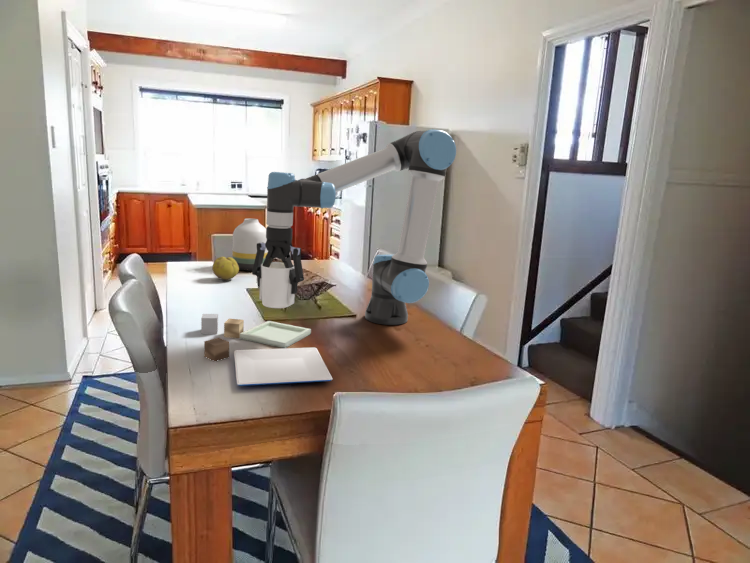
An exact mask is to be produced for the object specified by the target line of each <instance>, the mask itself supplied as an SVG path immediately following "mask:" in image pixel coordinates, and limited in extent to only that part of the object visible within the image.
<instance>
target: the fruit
mask: <svg viewBox="0 0 750 563" xmlns="http://www.w3.org/2000/svg"><path fill="white" fill-rule="evenodd" d="M239 270H240V269H239V266H238V264H237V262H236V261H235V260H234V259H233V258H232V256H230V257H229V256H228V257H226V256H220V257H217V258H216V259H215V261H214V262H213V264H212V272H213V274H214V276H216V277H217V278H219V279H220V280H223V281H228V280H229V281H230V280H231V279H233V278H235V277H236V276H237V275H238V273H239Z"/></svg>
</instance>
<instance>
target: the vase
mask: <svg viewBox="0 0 750 563" xmlns="http://www.w3.org/2000/svg"><path fill="white" fill-rule="evenodd" d="M266 228H267V227H265V226H264V225H262V224H261V223H260V222H259V219H258V218H244V219H243V222H242V223H240V224H238V226H236V227H235V228H234V230H233V232H232V245H231V246H232V247H231V248H232V253H231V254H232V256H231V258H233V259H234V260H235V261H236V262H237V264H238V266H239V270H241V271H248V272H249V271H251V272H252V270H253V266H254V262H255V257H256V253H257V243H262V242H263V243H266V241H267V239H266ZM267 253H268V250H267V248H266V249H265V253H264V257H263V262H264V260H265V257H266V255H267ZM263 262H262V264H263Z"/></svg>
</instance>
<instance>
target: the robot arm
mask: <svg viewBox="0 0 750 563" xmlns="http://www.w3.org/2000/svg"><path fill="white" fill-rule="evenodd" d="M456 156H457V146H456V143H455V140H454V139H453V137H452V136H451V135H450V134H449V133H448V132H447V131H445V130H440V129H433V128H432V129H427V130H416V131H414V132H411V133H409V134H407V135H405V136H403V137H400V138H398V139H397V140H394V141H392V142H389V143H387V144H386V147H385V148H382V149H380V150H377V151H375V152H372V153H369V154H367V155H363V156H361V157H358V158H355V159H354V160H351V161H348V162H346V163H342V164H341V165H337V166H335V167H333V168H329V169H327V170H325V171H322V172H319V173H317V174H315V175H312V176H309V177H305V178H300V179H296V178H295V177H296V175H295V173H293V172H282V171H280V172H279V171H271V172H270V173H269V174H268V178H267V187H266V188H267V192H266V193H267V194H266V222H265V223H266V225H267V226H266V227H265V228H266V239H267V241H266V243H263V242H262V243H257V253H256V257H255V262H254V266H253V270H252V271H251V274H252V275H253V276H255V277H257V288H258V289H259V298H258V299H259V301H262V280H261V264H262V262H263V257H264V253H265V249H266V248H267V250H268V253H267V255H266V257H265V260H264V262H263V266H264V267H268V268H269V267H270V265H271V263H272V262H274V261H273V260H274V259H275V258H277V259H279V260H281V262H282V263H284V265H285V268H292V267H293V265H294V269H292V270H290V271H289V279H290V281H291V282H290V283H288V302H287V305H290V306H291V305H293V304H295V298H296V297H295V296H296V294H297V293H298V284H299V283H301V282H303V281H305V278H304V277H305V276H304V271H303V263H302V256H301V254H302V248H301V247H295V246H293V244H292V240H293V230H294V229H293V228H292V226H294V225H293V223H294V207H297V208H298V207H300V208H302V207H303V208H319V209H331V208H332V207H334V205H335V202H336V196H337V193H339V192H341V191H344V190H346V189H348V188H351V187H354V186H357V185H359V184H362V183H364V182H366V181H369V180H372V179H374V178H377V177H380V176H382V175H385V174H387V173H390V172H393V171H394V172H396V173H397V172H398V173H399V172H402V171H404V170H408V171H407V172H408V173H409V175H410V176H411V180H410V184H409V185H410V186H409V190H408V191H409V192H408V194H407V195H408V197H407V202H406V207H405V211H404V217H403V221H402V227H401V234H400V239H399V243H398V248H397V252H396V253H394V254H377V255H375V256H374V258H373V263H372V281H371V294H370V295H371V296H370V299H369V301H368V304H367V307H366V308H365V312H364V318H365V320H366V321H368V322H370V323H374V324H378V325H379V324H380V325H385V326H387V325H388V326H398V325H403V324H405V323H407V322H408V318H409V314H408V309H407V305H406V304H413V303H416V302H418V301H420V300H421V299H422V298H424V296H425V295H426V294H427V293H428V290H429V287H430V280H429V277H428V275H427V273H426V272H427V267H428V262H427V260H426V258H425V253H426V249H427V248H426V246H427V242H428V238H429V234H430V233H429V232H430V229H431V223H432V218H433V214H434V208H435V204H436V199H437V193H438V188H439V183H440V182H441V181H442V180H444V179H445V178H446V173H447V169H448V168H449V167H450V166H451V165H452V164H453V162H454V161H455V160H456ZM291 255H292V257H291ZM292 261H293V262H292Z"/></svg>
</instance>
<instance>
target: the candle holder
mask: <svg viewBox="0 0 750 563" xmlns="http://www.w3.org/2000/svg"><path fill="white" fill-rule="evenodd" d="M292 269H294V264H293V267H292V268H285V265H284V263H283V262H282V261H280V262H279V261H272V263H271V265H270V267H269V268H268V267H264V266H263V264H261V280H262V300H261V302H262V305H263V306H264V307H266V308H270V309H271V308H272V309H284V308H288V307H290V306H291V305H287V302H288V283H290V282H291V281H290V279H289V271H290V270H292Z"/></svg>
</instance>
